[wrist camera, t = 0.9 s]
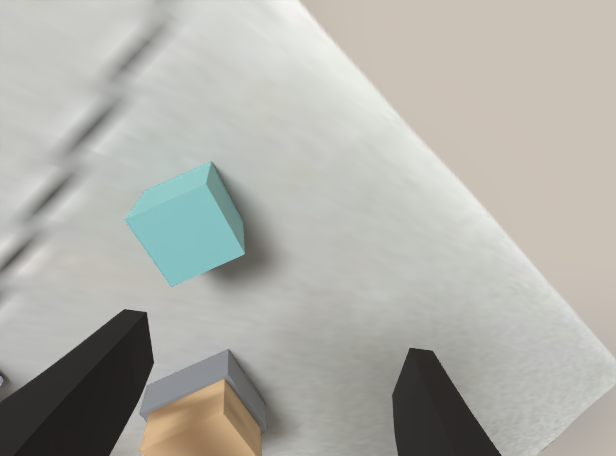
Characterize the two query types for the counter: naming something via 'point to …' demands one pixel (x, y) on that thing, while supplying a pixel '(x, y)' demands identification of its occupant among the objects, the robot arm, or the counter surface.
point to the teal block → (188, 224)
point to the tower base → (202, 377)
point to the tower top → (203, 426)
